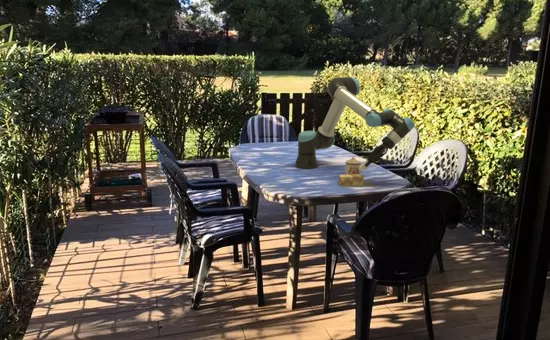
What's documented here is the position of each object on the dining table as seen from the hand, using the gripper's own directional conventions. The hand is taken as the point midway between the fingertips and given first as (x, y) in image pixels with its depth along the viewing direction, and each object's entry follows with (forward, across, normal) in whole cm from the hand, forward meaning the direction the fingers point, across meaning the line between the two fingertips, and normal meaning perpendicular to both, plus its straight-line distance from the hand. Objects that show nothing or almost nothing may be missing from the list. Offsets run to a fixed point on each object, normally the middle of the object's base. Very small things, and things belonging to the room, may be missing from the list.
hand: (360, 169), depth 249 cm
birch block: (+3, 0, -5) cm, 6 cm away
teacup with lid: (+4, +21, -9) cm, 23 cm away
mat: (+8, 0, -5) cm, 9 cm away
